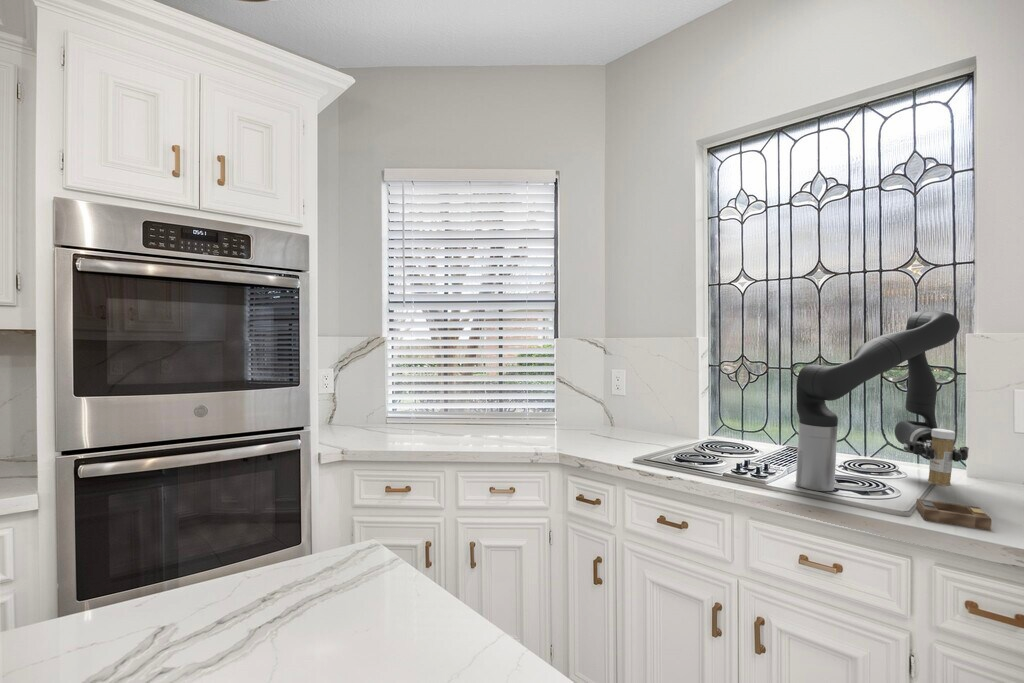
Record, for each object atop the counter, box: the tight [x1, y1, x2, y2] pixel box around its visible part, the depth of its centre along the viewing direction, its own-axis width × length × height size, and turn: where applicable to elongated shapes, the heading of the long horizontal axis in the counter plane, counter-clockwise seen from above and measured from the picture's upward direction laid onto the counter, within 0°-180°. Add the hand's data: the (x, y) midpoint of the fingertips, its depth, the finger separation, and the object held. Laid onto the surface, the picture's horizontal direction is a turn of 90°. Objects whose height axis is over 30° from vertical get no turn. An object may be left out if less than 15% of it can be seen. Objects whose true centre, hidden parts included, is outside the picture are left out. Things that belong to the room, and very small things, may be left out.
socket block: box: [915, 498, 992, 531], centre depth 129 cm, size 12×9×2 cm
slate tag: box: [921, 501, 935, 507], centre depth 131 cm, size 2×3×1 cm, turn 153°
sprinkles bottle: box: [927, 428, 956, 487], centre depth 137 cm, size 5×5×13 cm
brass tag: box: [970, 508, 986, 515], centre depth 127 cm, size 2×3×1 cm, turn 153°
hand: (944, 455), depth 134 cm, fingers closed on sprinkles bottle, 4 cm apart
